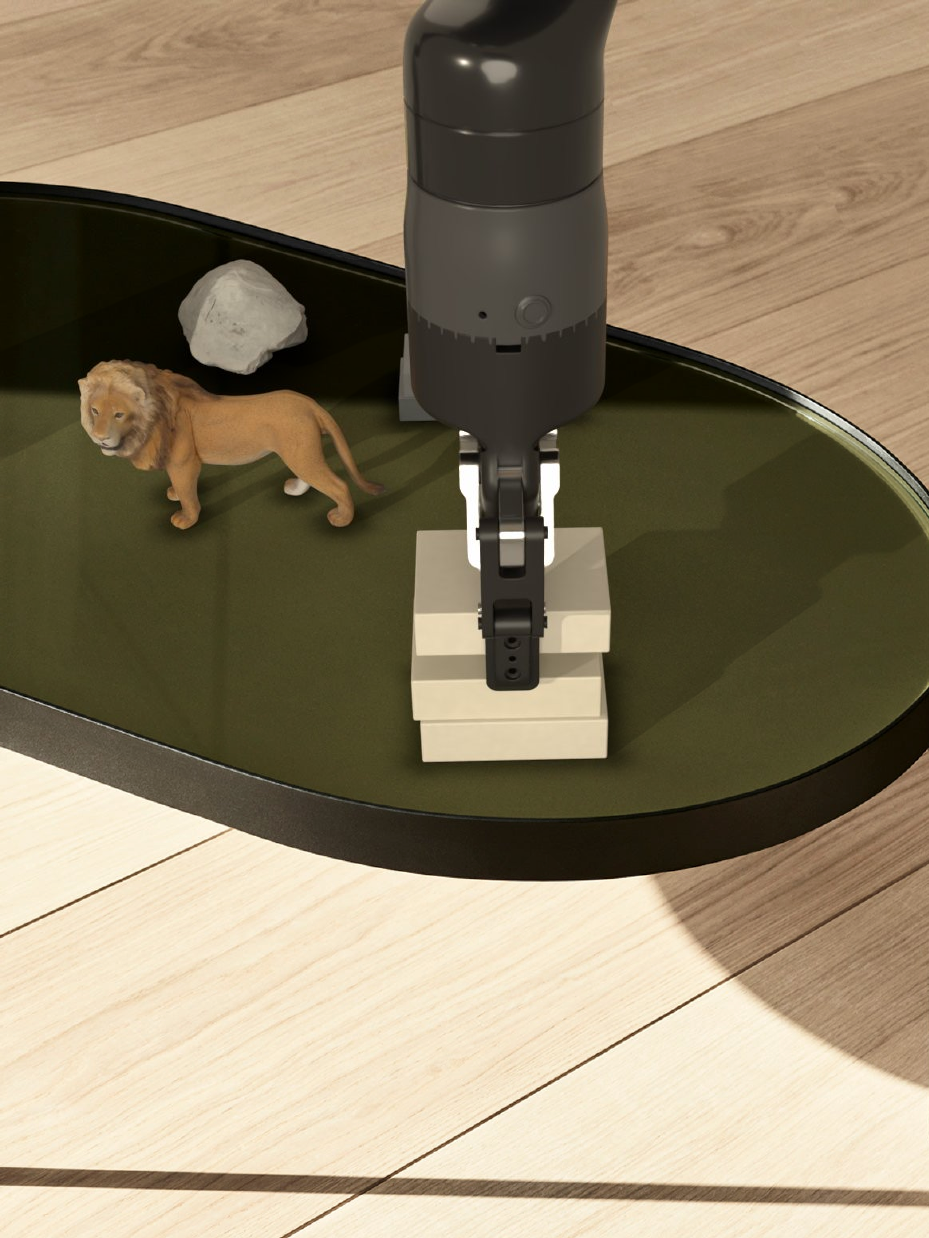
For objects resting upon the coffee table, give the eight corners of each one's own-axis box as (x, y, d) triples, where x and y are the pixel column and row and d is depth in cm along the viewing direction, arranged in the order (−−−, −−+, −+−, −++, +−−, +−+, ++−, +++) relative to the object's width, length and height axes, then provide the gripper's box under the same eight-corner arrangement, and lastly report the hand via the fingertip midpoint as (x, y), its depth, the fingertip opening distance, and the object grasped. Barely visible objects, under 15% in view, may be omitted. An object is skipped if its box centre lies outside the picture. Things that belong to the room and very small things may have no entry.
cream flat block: (416, 656, 76) (413, 614, 74) (418, 571, 81) (416, 529, 79) (609, 653, 76) (611, 610, 75) (601, 567, 81) (602, 526, 79)
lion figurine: (98, 551, 92) (68, 395, 86) (102, 493, 96) (74, 340, 91) (390, 526, 94) (380, 370, 88) (382, 469, 98) (372, 317, 92)
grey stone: (343, 335, 109) (337, 257, 106) (273, 398, 103) (265, 319, 100) (220, 307, 112) (210, 230, 109) (145, 367, 106) (133, 289, 103)
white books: (415, 763, 80) (410, 684, 77) (418, 672, 84) (414, 595, 82) (607, 758, 80) (609, 680, 77) (599, 668, 84) (600, 591, 82)
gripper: (410, 200, 74) (426, 543, 85) (400, 381, 63) (420, 750, 74) (596, 196, 74) (589, 540, 85) (619, 377, 63) (608, 746, 74)
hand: (511, 636), depth 79 cm, fingers closed on cream flat block, 6 cm apart
